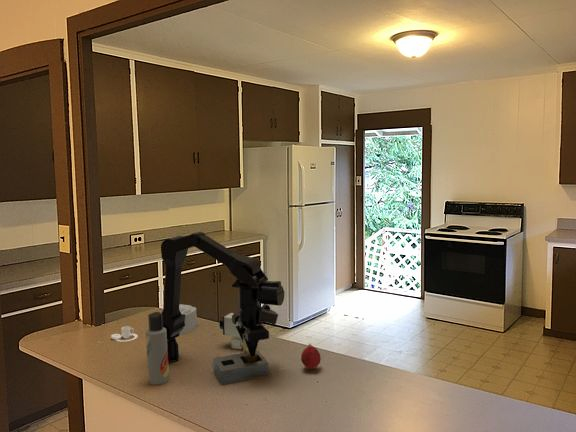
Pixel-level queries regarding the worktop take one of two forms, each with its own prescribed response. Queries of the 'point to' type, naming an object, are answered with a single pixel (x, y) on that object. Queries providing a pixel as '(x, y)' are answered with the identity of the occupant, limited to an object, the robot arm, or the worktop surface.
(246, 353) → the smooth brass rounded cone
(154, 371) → the lotion bottle
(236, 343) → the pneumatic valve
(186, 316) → the lumpy-topped squat cylinder
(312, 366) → the onion
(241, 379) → the socket block
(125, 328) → the teacup and saucer
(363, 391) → the worktop surface
